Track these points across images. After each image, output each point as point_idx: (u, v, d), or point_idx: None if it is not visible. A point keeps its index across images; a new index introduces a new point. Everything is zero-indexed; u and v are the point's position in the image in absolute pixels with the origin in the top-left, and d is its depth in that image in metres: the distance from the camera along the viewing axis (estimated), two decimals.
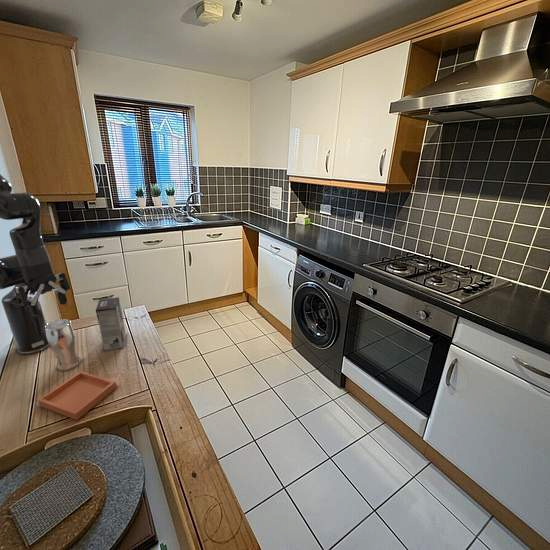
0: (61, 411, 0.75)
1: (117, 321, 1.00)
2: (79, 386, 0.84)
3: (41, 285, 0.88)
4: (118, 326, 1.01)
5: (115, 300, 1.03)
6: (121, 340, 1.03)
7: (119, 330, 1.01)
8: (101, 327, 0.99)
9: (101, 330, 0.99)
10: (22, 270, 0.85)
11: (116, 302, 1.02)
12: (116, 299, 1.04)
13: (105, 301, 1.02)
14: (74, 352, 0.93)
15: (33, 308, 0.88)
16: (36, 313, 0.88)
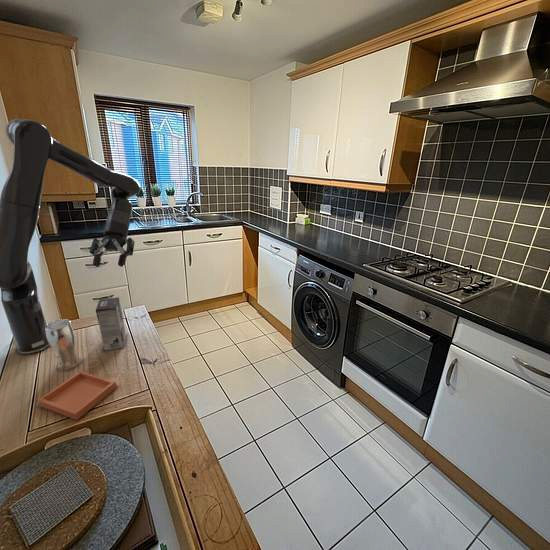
0: (61, 411, 0.75)
1: (117, 321, 1.00)
2: (79, 386, 0.84)
3: None
4: (118, 326, 1.01)
5: (115, 300, 1.03)
6: (121, 340, 1.03)
7: (119, 330, 1.01)
8: (101, 327, 0.99)
9: (101, 330, 0.99)
10: (126, 228, 1.05)
11: (116, 302, 1.02)
12: (116, 299, 1.04)
13: (105, 301, 1.02)
14: (74, 352, 0.93)
15: None
16: None
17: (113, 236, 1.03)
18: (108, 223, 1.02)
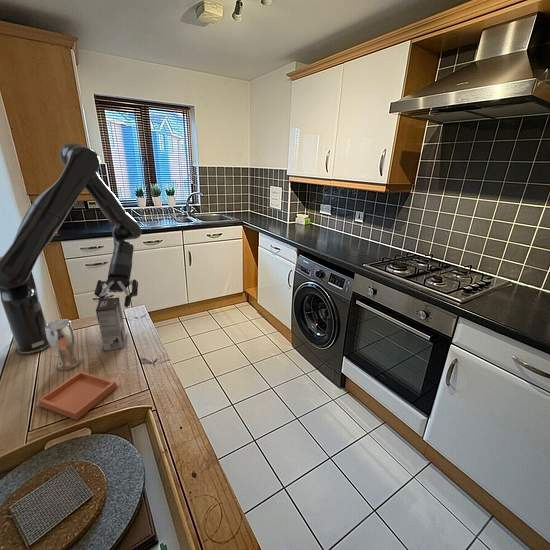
0: (61, 411, 0.75)
1: (117, 321, 1.00)
2: (79, 386, 0.84)
3: None
4: (118, 326, 1.01)
5: (115, 300, 1.03)
6: (121, 340, 1.03)
7: (119, 330, 1.01)
8: (101, 327, 0.99)
9: (101, 330, 0.99)
10: (130, 270, 1.12)
11: (116, 302, 1.02)
12: (116, 299, 1.04)
13: (105, 301, 1.02)
14: (74, 352, 0.93)
15: None
16: None
17: (118, 278, 1.09)
18: (113, 266, 1.08)
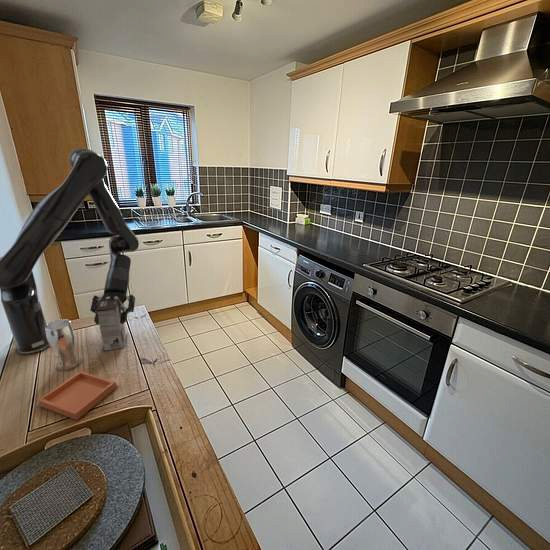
0: (61, 411, 0.75)
1: (117, 321, 1.00)
2: (79, 386, 0.84)
3: None
4: (118, 326, 1.01)
5: (115, 300, 1.03)
6: (121, 340, 1.03)
7: (119, 330, 1.01)
8: (101, 327, 0.99)
9: (101, 330, 0.99)
10: (126, 285, 1.08)
11: (116, 302, 1.02)
12: (116, 299, 1.04)
13: (105, 301, 1.02)
14: (74, 352, 0.93)
15: None
16: None
17: (114, 293, 1.06)
18: (109, 281, 1.05)
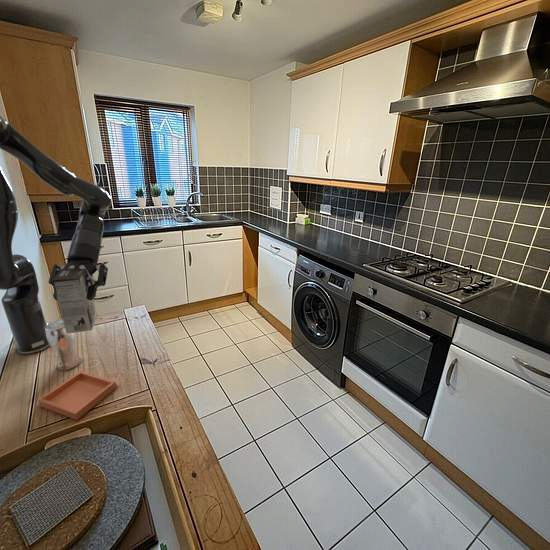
0: (61, 411, 0.75)
1: (82, 296, 0.77)
2: (79, 386, 0.84)
3: None
4: (84, 302, 0.78)
5: (81, 270, 0.81)
6: (88, 321, 0.80)
7: (85, 308, 0.79)
8: (61, 303, 0.76)
9: (61, 307, 0.77)
10: (97, 252, 0.86)
11: (81, 272, 0.79)
12: (82, 269, 0.81)
13: (68, 271, 0.79)
14: (74, 352, 0.93)
15: None
16: None
17: (80, 262, 0.83)
18: (74, 246, 0.82)
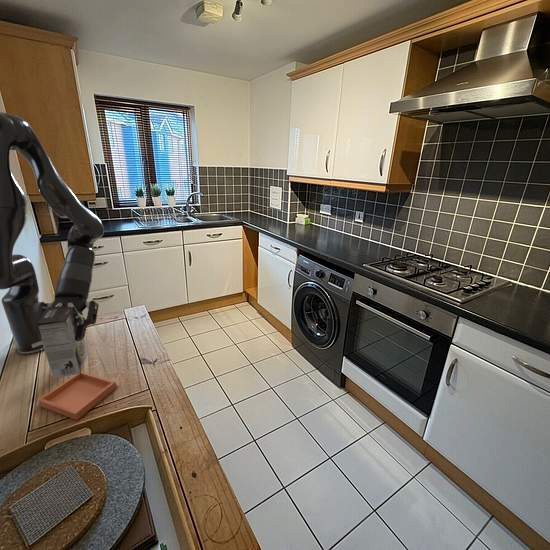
0: (61, 411, 0.75)
1: (69, 338, 0.71)
2: (79, 386, 0.84)
3: None
4: (71, 345, 0.72)
5: (69, 308, 0.75)
6: (77, 364, 0.74)
7: (73, 350, 0.73)
8: (46, 347, 0.70)
9: (46, 351, 0.70)
10: (87, 287, 0.80)
11: (69, 311, 0.73)
12: (70, 307, 0.75)
13: (54, 310, 0.73)
14: None
15: None
16: None
17: (69, 298, 0.77)
18: (62, 281, 0.76)
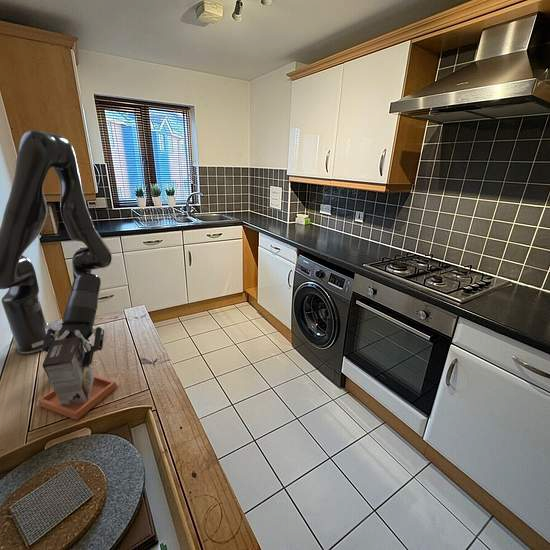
0: (61, 411, 0.75)
1: (75, 375, 0.73)
2: None
3: None
4: (77, 381, 0.74)
5: (74, 344, 0.76)
6: (84, 395, 0.77)
7: (79, 385, 0.75)
8: (53, 383, 0.73)
9: (54, 387, 0.73)
10: (93, 314, 0.83)
11: (74, 348, 0.74)
12: (75, 342, 0.76)
13: (59, 347, 0.74)
14: None
15: None
16: None
17: (76, 325, 0.80)
18: (69, 309, 0.79)
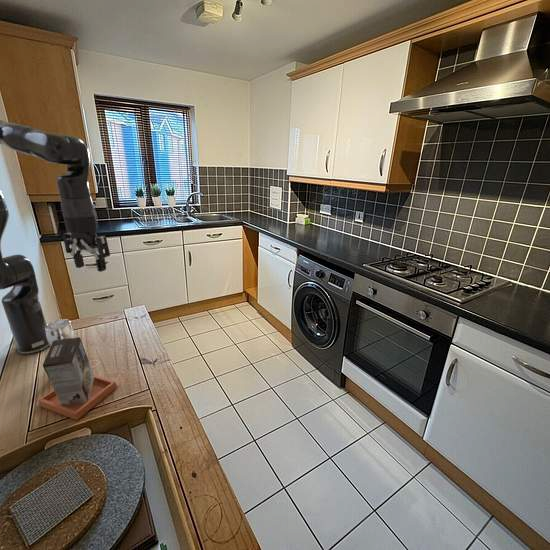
0: (61, 411, 0.75)
1: (76, 376, 0.73)
2: None
3: None
4: (78, 381, 0.74)
5: (74, 344, 0.76)
6: (84, 395, 0.77)
7: (80, 385, 0.75)
8: (54, 383, 0.73)
9: (54, 387, 0.73)
10: (90, 221, 0.80)
11: (74, 348, 0.74)
12: (75, 342, 0.76)
13: (60, 347, 0.74)
14: None
15: None
16: None
17: (80, 233, 0.81)
18: (65, 220, 0.78)
